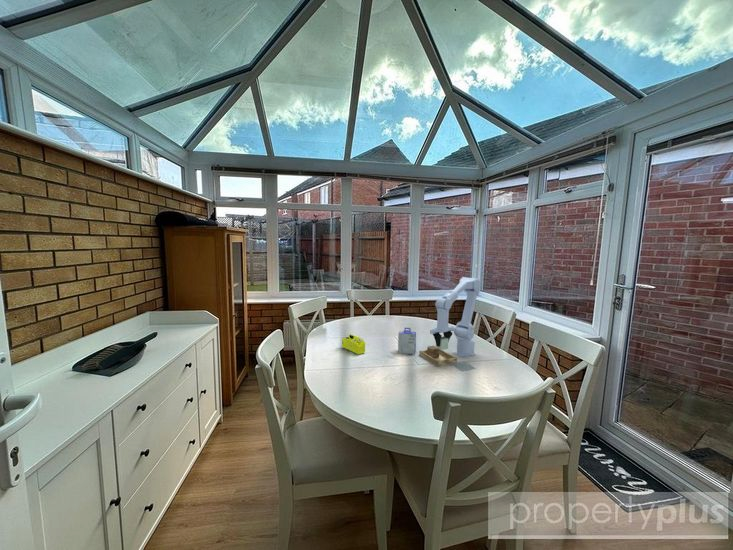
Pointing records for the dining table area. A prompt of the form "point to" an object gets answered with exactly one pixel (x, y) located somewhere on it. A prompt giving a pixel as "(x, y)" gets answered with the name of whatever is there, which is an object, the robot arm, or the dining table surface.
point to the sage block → (443, 343)
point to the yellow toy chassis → (354, 344)
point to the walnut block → (433, 351)
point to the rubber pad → (463, 366)
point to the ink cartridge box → (407, 341)
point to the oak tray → (439, 358)
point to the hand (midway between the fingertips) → (442, 345)
